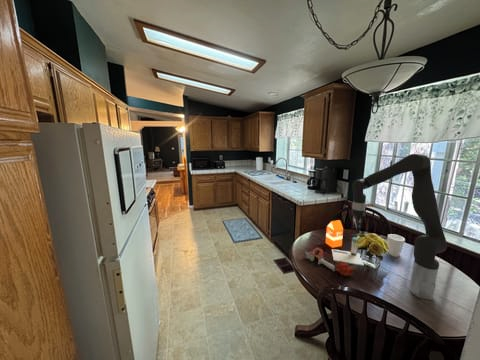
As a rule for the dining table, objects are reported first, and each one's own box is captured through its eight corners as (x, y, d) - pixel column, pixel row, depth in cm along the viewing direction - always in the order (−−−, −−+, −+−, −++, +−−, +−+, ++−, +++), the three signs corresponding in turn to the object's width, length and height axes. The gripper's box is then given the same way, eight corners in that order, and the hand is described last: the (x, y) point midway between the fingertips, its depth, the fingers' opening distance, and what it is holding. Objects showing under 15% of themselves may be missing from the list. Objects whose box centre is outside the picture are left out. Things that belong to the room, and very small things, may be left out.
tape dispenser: (336, 274, 123) (328, 254, 142) (338, 267, 121) (329, 248, 140) (307, 270, 126) (303, 251, 145) (308, 263, 124) (304, 245, 143)
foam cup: (405, 257, 135) (408, 240, 133) (392, 258, 135) (394, 240, 133) (395, 250, 145) (397, 234, 142) (382, 250, 145) (384, 234, 142)
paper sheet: (363, 266, 128) (364, 264, 127) (333, 260, 134) (333, 259, 134) (359, 254, 140) (359, 253, 140) (331, 249, 147) (331, 248, 146)
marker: (357, 256, 137) (358, 240, 135) (351, 255, 138) (352, 239, 136) (356, 253, 140) (357, 237, 138) (350, 252, 142) (351, 237, 139)
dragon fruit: (331, 272, 125) (352, 280, 120) (333, 272, 118) (355, 280, 113) (334, 258, 127) (355, 266, 122) (336, 257, 120) (358, 265, 115)
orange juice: (325, 242, 157) (327, 219, 152) (334, 241, 159) (336, 218, 155) (332, 248, 149) (334, 223, 145) (341, 245, 152) (344, 221, 148)
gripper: (367, 212, 125) (365, 236, 128) (362, 205, 138) (360, 227, 141) (354, 211, 127) (352, 234, 130) (350, 204, 140) (348, 225, 143)
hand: (356, 230), depth 136 cm, fingers open, 8 cm apart
